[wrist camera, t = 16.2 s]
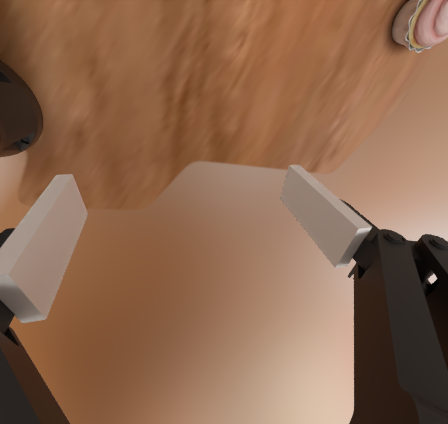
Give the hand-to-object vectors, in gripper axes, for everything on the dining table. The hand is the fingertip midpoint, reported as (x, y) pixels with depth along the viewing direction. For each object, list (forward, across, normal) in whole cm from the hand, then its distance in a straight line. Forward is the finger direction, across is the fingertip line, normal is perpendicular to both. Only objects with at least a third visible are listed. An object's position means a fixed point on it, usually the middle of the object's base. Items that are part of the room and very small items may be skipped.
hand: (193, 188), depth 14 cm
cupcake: (+32, +44, +14) cm, 56 cm away
